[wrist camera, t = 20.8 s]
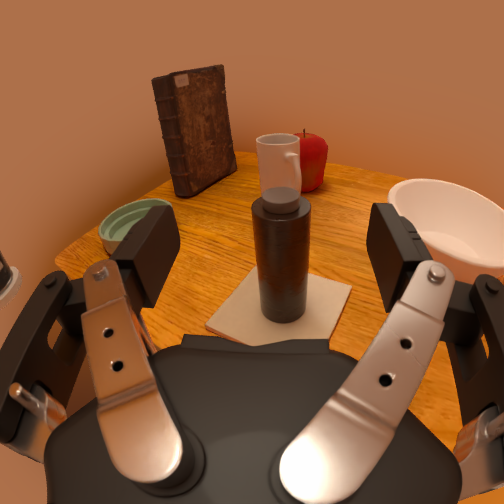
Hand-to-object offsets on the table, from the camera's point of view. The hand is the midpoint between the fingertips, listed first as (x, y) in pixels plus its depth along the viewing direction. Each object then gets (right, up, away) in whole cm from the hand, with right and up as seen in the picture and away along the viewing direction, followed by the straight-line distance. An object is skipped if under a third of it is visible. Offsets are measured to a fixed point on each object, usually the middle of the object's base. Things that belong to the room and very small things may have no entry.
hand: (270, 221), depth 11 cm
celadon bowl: (-19, +2, +35) cm, 40 cm away
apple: (+10, +11, +44) cm, 46 cm away
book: (-11, +14, +50) cm, 53 cm away
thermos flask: (+3, -7, +19) cm, 20 cm away
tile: (+3, -7, +20) cm, 21 cm away
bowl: (+27, -3, +23) cm, 35 cm away
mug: (+5, +6, +37) cm, 38 cm away
